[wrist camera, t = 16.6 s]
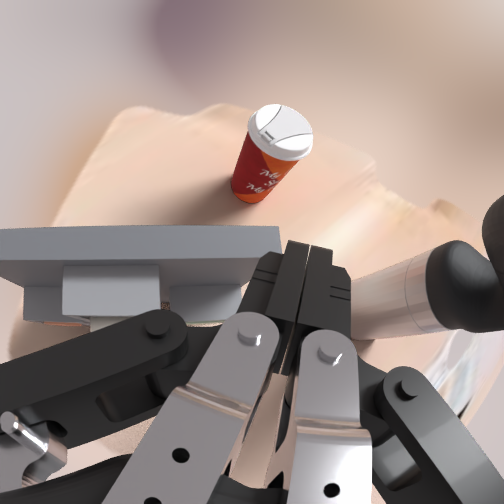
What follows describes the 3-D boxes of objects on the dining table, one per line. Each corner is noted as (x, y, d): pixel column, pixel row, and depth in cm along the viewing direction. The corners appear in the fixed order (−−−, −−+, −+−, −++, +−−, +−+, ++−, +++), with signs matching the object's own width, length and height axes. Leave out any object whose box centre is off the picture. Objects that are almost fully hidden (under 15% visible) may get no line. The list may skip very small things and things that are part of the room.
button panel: (223, 324, 35) (288, 305, 17) (59, 326, 29) (-35, 306, 11) (219, 277, 37) (276, 212, 19) (59, 279, 31) (-25, 216, 13)
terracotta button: (86, 326, 25) (75, 324, 22) (52, 325, 24) (37, 322, 20) (86, 302, 26) (74, 296, 22) (52, 301, 25) (38, 295, 21)
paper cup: (249, 220, 41) (288, 165, 28) (212, 181, 41) (236, 115, 28) (284, 191, 44) (329, 136, 31) (250, 156, 44) (283, 93, 31)
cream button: (149, 347, 20) (145, 348, 16) (98, 347, 19) (84, 348, 15) (147, 314, 21) (143, 308, 17) (96, 314, 20) (83, 308, 16)
